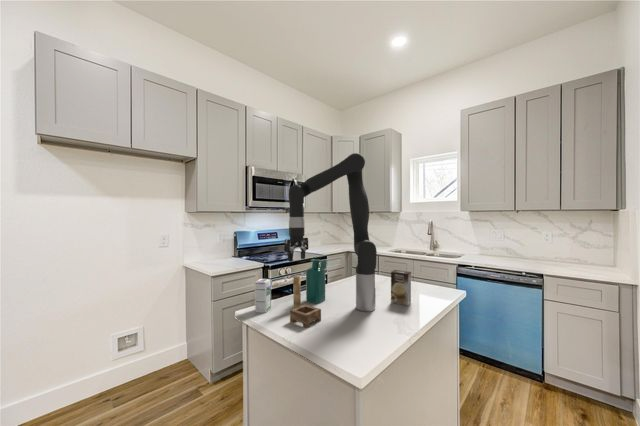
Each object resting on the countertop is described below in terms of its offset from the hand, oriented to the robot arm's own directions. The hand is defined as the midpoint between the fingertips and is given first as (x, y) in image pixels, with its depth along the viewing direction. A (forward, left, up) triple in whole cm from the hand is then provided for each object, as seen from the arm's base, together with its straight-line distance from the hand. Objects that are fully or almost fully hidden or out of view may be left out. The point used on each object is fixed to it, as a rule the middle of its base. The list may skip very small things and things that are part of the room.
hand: (296, 259), depth 128 cm
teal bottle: (-16, -1, -24) cm, 29 cm away
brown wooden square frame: (+8, +13, -24) cm, 28 cm away
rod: (0, 0, -24) cm, 24 cm away
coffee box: (-41, +35, -24) cm, 59 cm away
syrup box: (+11, -12, -24) cm, 29 cm away
